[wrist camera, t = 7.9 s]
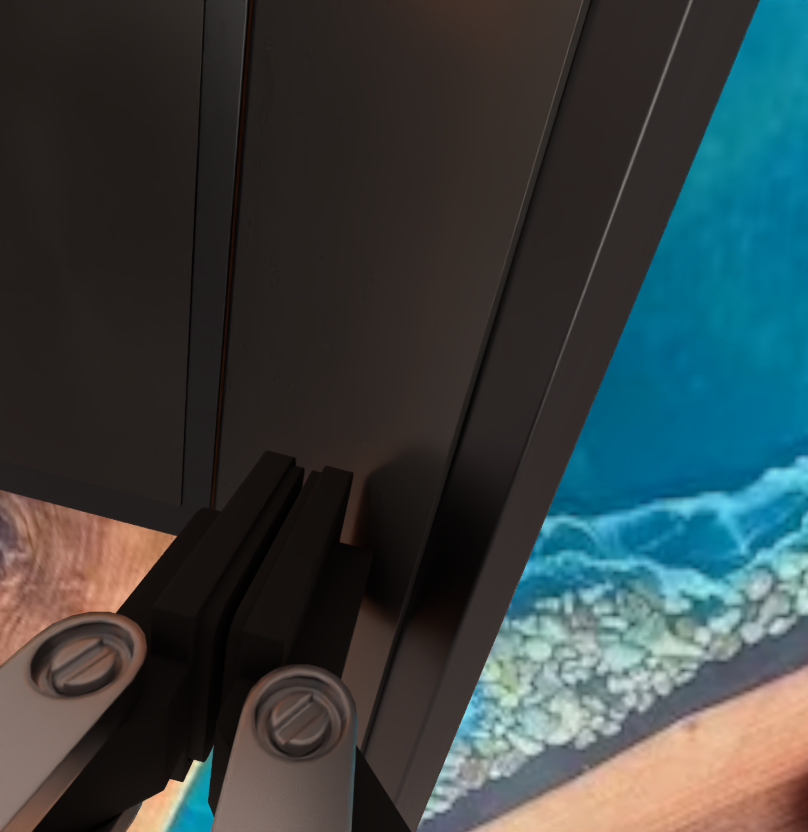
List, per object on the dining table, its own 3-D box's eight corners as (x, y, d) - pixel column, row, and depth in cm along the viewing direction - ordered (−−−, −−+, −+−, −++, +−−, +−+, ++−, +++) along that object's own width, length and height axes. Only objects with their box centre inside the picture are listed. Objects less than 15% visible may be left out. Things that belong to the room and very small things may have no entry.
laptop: (-101, 440, 28) (-135, 457, 26) (-243, -207, 17) (-313, -242, 16) (221, 524, 28) (206, 546, 26) (275, -83, 17) (255, -107, 16)
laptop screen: (311, 1019, 13) (347, 1000, 14) (1028, -963, 3) (1085, -775, 3) (207, 544, 26) (227, 542, 27) (256, -105, 16) (287, -92, 16)
